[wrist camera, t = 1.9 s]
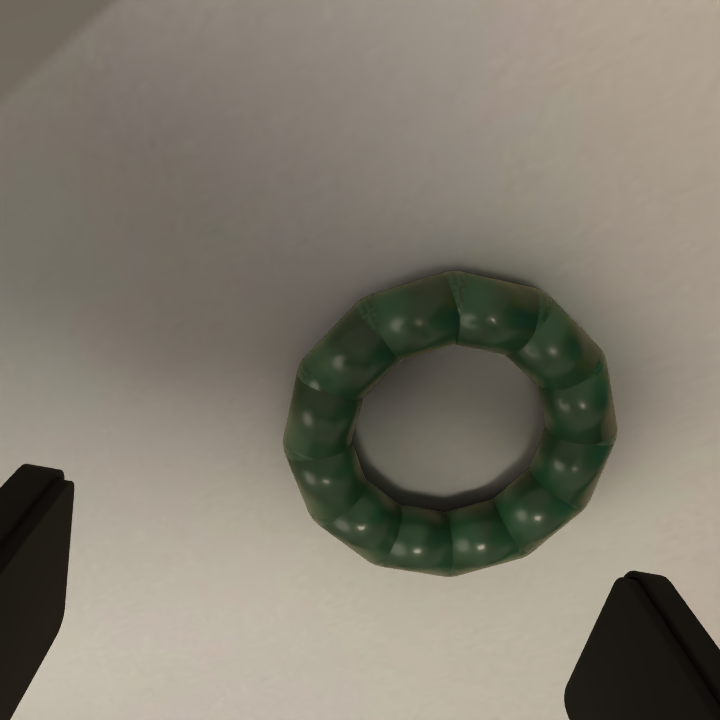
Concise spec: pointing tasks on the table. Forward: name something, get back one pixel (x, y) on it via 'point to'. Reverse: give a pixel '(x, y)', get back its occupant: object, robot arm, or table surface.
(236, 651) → the table surface
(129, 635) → the table surface
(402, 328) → the ring
